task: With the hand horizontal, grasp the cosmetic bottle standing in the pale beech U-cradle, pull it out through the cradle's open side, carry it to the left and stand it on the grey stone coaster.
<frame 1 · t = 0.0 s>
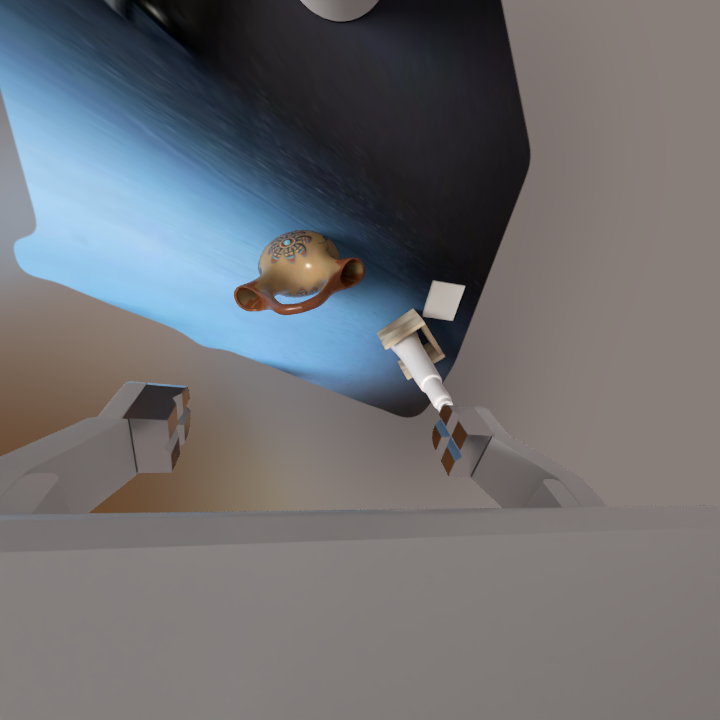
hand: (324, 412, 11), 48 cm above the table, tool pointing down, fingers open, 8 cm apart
cosmetic bottle: (403, 338, 65), on the table
stone coaster: (442, 300, 62), on the table
ceramic vessel: (299, 254, 54), on the table
beech cradle: (403, 339, 65), on the table
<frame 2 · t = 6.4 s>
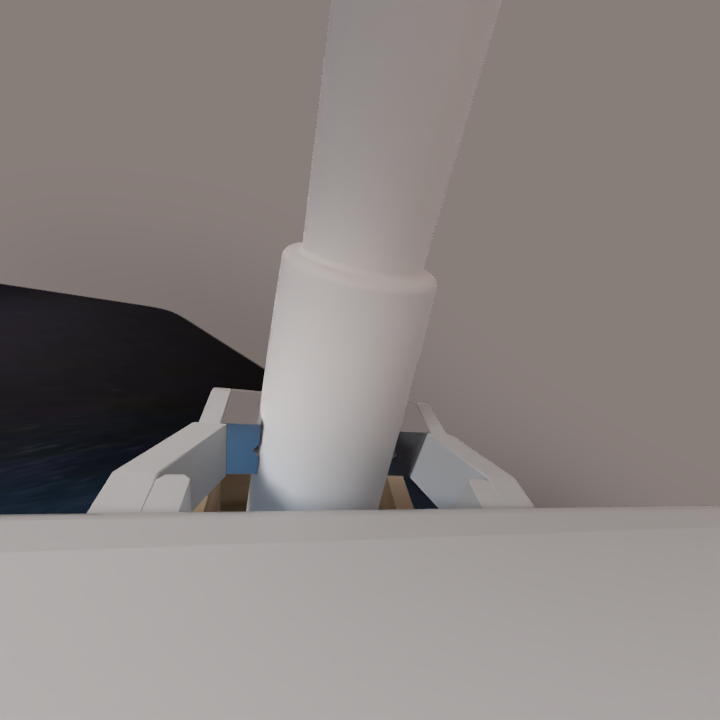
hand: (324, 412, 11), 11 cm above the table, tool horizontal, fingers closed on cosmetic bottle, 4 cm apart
cosmetic bottle: (290, 616, 15), on the table, touching gripper
beech cradle: (290, 614, 15), on the table
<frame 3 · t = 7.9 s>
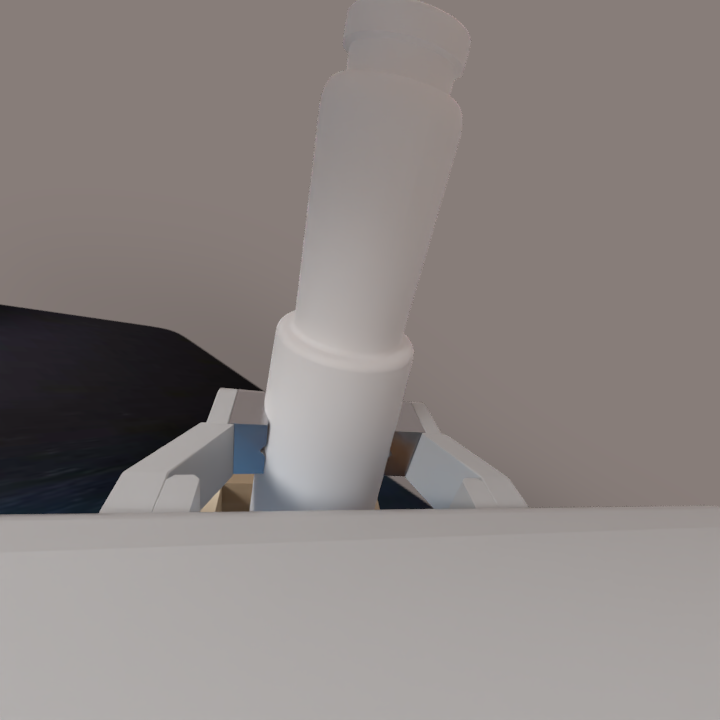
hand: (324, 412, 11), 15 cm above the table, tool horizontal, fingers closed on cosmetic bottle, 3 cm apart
cosmetic bottle: (286, 632, 16), point 1 cm above the table, touching gripper
beech cradle: (281, 621, 18), on the table
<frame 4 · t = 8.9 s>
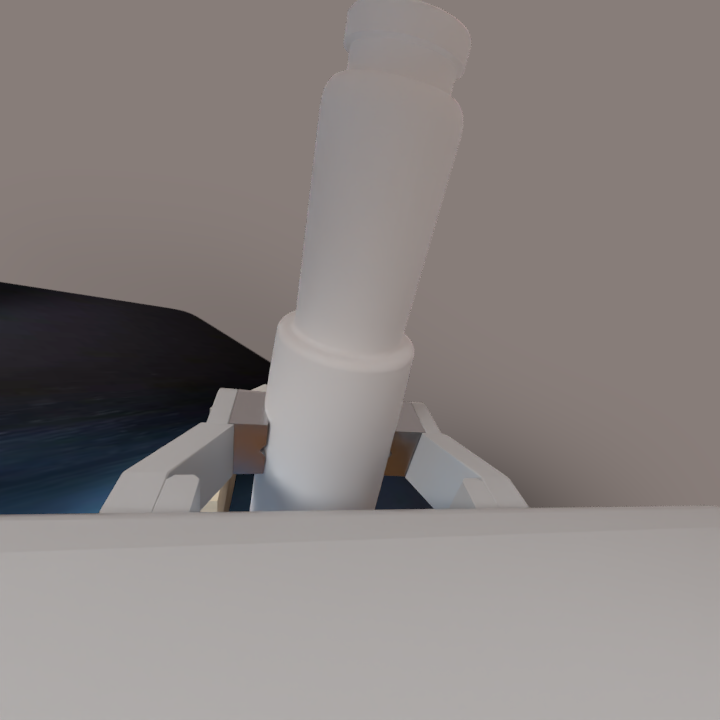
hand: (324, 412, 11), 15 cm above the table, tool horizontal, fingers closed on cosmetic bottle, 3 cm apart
cosmetic bottle: (286, 632, 16), point 2 cm above the table, touching gripper
beech cradle: (285, 513, 23), on the table
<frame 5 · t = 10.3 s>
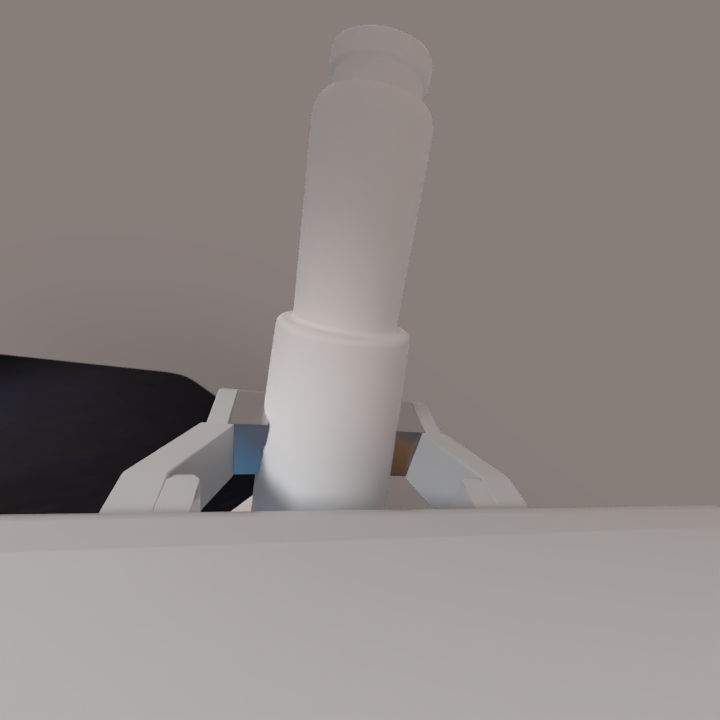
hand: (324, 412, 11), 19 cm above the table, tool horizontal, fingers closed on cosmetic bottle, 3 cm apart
cosmetic bottle: (290, 705, 14), point 6 cm above the table, touching gripper
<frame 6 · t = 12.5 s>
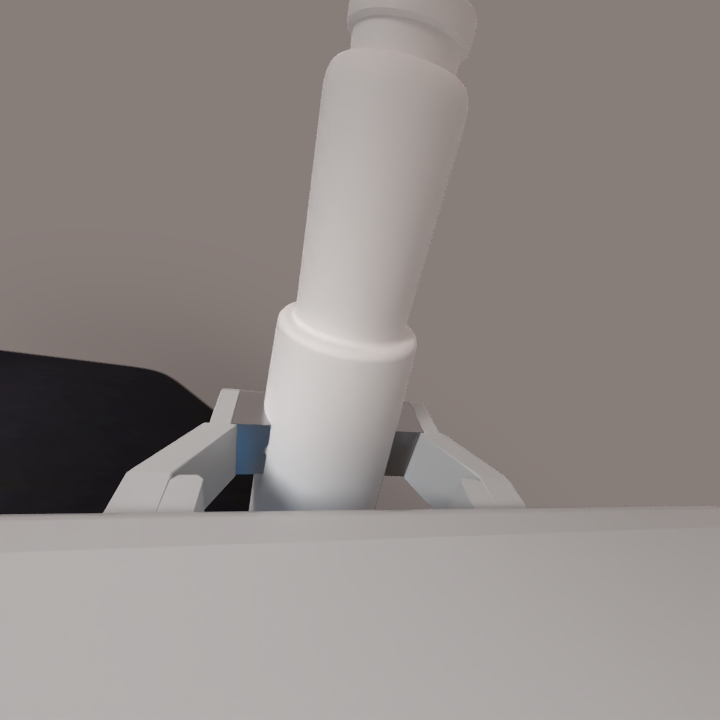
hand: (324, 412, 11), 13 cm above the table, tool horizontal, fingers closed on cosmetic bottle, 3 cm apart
cosmetic bottle: (287, 630, 16), resting on stone coaster, touching gripper
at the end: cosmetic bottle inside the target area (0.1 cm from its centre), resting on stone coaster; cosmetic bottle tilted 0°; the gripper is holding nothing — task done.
